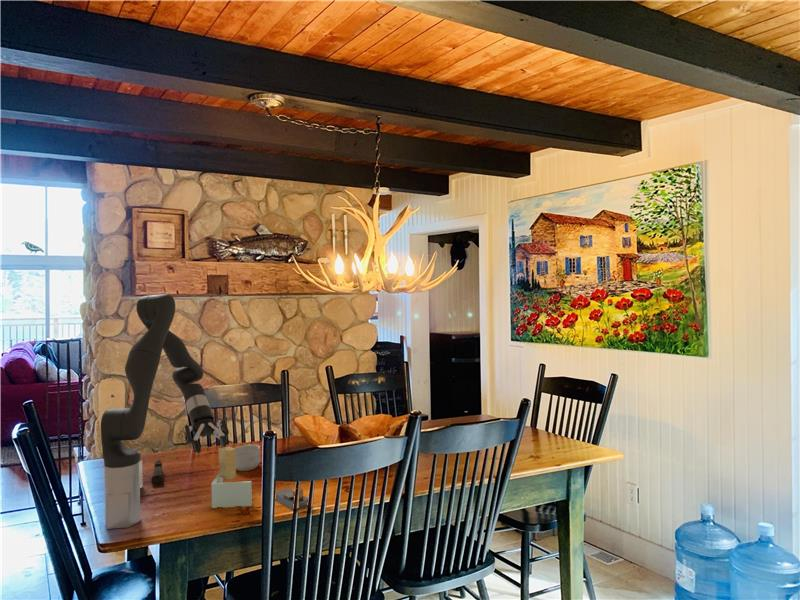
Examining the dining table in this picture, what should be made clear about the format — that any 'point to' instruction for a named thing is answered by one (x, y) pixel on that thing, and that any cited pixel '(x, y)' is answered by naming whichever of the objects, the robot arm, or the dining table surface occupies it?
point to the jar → (140, 470)
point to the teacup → (247, 457)
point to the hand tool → (157, 474)
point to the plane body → (290, 498)
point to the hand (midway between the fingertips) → (212, 449)
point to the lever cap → (227, 462)
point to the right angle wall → (231, 493)
